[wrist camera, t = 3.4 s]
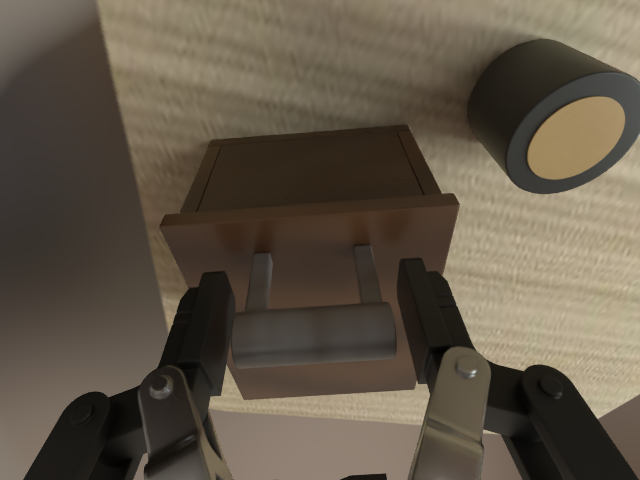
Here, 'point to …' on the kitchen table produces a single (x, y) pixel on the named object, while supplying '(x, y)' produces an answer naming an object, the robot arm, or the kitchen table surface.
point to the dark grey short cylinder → (554, 115)
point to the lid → (316, 288)
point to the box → (310, 169)
